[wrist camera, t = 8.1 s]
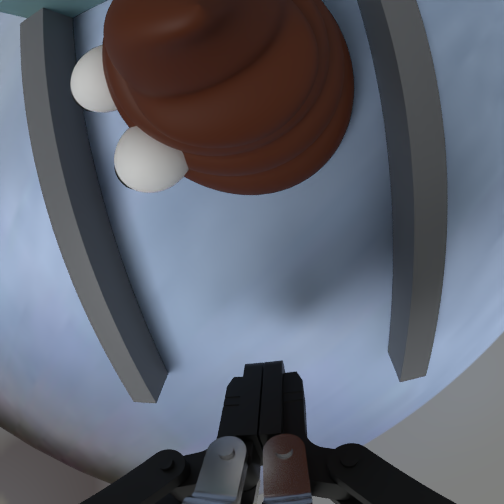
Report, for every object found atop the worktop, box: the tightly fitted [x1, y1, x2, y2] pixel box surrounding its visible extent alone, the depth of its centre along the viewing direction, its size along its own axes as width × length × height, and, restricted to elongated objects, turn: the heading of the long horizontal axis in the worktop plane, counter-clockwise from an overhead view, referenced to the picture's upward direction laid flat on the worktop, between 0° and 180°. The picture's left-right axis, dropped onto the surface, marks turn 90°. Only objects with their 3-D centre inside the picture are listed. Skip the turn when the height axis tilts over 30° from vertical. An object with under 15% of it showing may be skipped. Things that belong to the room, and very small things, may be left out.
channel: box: [0, 0, 447, 403], centre depth 10 cm, size 22×16×5 cm
